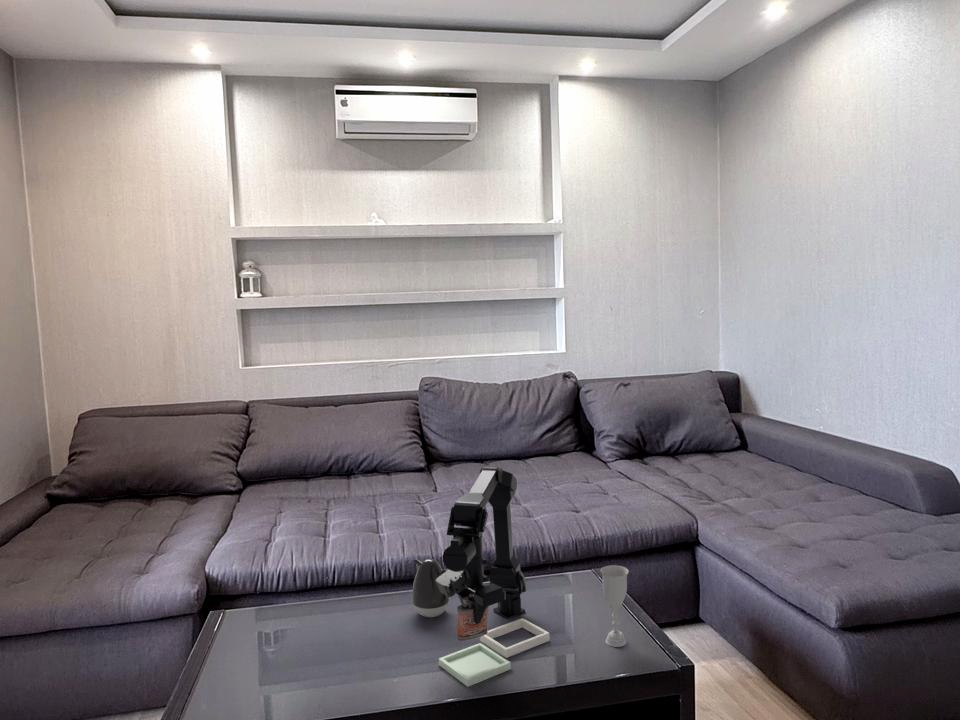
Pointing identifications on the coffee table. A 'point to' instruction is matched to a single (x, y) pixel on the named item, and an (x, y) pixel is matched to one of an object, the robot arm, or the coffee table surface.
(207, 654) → the coffee table surface
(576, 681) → the coffee table surface
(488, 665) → the tray
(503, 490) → the robot arm
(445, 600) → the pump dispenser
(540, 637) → the white picture frame
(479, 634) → the lighter
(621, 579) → the chalice
